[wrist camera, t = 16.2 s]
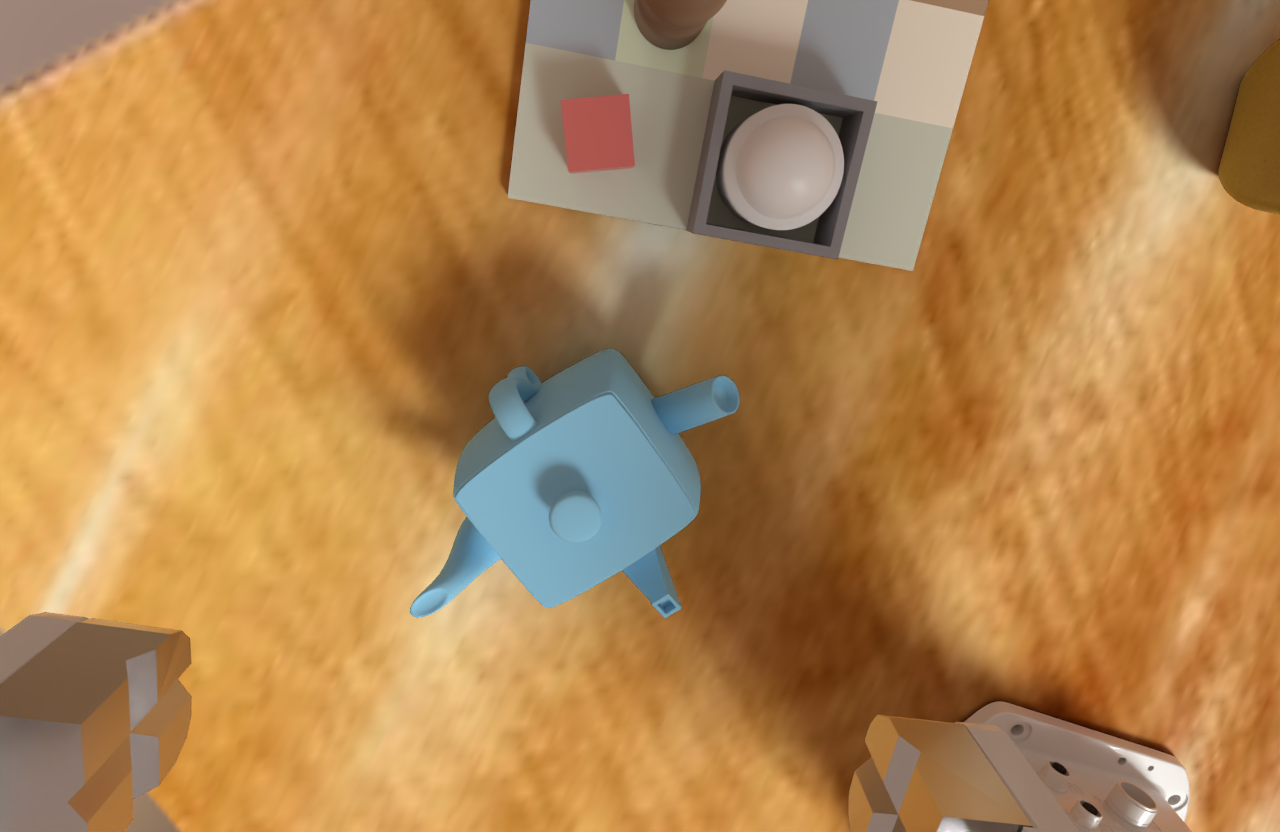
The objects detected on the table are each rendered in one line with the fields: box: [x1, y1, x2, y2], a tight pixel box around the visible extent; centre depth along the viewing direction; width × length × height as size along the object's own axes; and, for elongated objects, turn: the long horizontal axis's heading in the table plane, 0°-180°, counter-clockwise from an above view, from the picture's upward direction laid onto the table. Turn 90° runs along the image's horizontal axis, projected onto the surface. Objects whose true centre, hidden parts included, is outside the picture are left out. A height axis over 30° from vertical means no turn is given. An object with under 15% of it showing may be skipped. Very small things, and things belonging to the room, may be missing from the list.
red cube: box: [561, 94, 635, 174], centre depth 33 cm, size 3×3×3 cm
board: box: [507, 0, 989, 271], centre depth 34 cm, size 21×13×4 cm, turn 80°
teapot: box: [410, 348, 740, 619], centre depth 36 cm, size 18×14×10 cm
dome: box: [716, 104, 844, 230], centre depth 33 cm, size 5×5×5 cm
